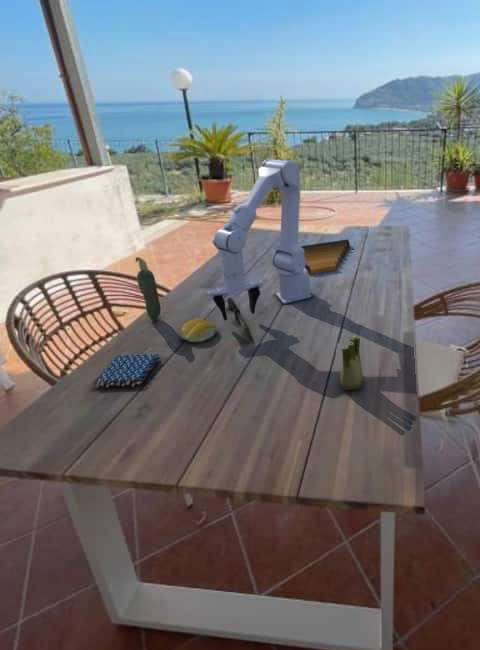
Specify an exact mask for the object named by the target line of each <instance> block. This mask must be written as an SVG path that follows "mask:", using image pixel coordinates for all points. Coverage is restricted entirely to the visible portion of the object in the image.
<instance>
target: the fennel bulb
mask: <svg viewBox="0 0 480 650" xmlns="http://www.w3.org/2000/svg"><path fill="white" fill-rule="evenodd" d="M360 345H361V337H360V335H355V336H353V337H350V338H349V341H348V346H346V345H342V346H341V352H342V368H341V370H340V371H341V372H340V377H339V378H340V384H341V387H342V388H343V390H344V391H354V390H355V391H356V390H358V389H360V388H361V387H362V386H363V384H364V375H363V367H362V360H361V355H360Z"/></svg>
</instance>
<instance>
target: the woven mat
mask: <svg viewBox="0 0 480 650" xmlns="http://www.w3.org/2000/svg"><path fill="white" fill-rule="evenodd" d="M159 355H160V354H159V353H153V352H152V353H149V354H147V353H146V352H145V353H137V354H135V353H132V354H118V355H116V356H115V357H114V359H113V360H112V361H111V362H110V363H109V364H108V365H107V366H106V367H105V369H104V370H103V371H102V372H101V373H100V374H99V376H98V377H97V378H95V381H94V382H93V383H94V384H96V385H95V386H94V388H96V389H98V388H99V387H100V386H101V387H103V386H105V388H106V389H107V388H109V387H110V386H115V385H116V386H117V387H120V385H121V387H126V385H127V386H131V387H132V388H133V387H135V386H136V385H138V386H139V385H141V384H142V383H143V382H144V381H145V380H146V378H147V377H148V375H149V373H150V372H151V371H152V369H153V368H154V367H155V364H156V363H157V362H158V360H159V359H160V358H161V356H159Z"/></svg>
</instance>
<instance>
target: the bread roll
mask: <svg viewBox="0 0 480 650" xmlns="http://www.w3.org/2000/svg"><path fill="white" fill-rule="evenodd" d="M216 331H217V326H216V324H215V323H213V322H211V321H207V320H206V319H203V318H193V319H190V320H188V321H187V322H186V323H184V324H183V326H182V328H181V330H180V335H181V337H182V339H183V340H184V341H187V342H189V343H201V342H202V343H203V342H204V341H207V340H209V339H211V338H212V337H213V336H215V334H216Z"/></svg>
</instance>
